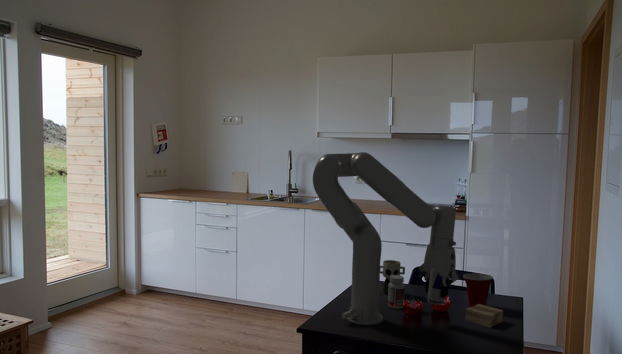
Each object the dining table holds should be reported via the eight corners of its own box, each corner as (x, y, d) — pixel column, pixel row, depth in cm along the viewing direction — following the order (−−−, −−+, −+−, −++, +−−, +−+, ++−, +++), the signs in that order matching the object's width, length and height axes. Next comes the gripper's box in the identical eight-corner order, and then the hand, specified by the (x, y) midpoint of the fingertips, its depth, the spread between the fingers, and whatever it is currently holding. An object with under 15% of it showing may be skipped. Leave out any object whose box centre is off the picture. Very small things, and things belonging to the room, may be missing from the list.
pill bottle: (405, 305, 181) (406, 275, 180) (402, 310, 175) (403, 279, 175) (389, 302, 183) (390, 273, 183) (385, 307, 178) (386, 277, 177)
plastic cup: (471, 300, 190) (472, 270, 189) (496, 307, 181) (498, 276, 181) (456, 305, 182) (457, 274, 182) (482, 312, 174) (483, 280, 174)
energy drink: (443, 306, 160) (447, 271, 159) (427, 303, 161) (431, 268, 160) (442, 301, 165) (446, 267, 164) (426, 299, 166) (430, 265, 165)
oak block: (489, 327, 159) (490, 315, 159) (465, 320, 166) (465, 308, 166) (502, 321, 165) (503, 310, 165) (478, 314, 172) (479, 303, 172)
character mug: (378, 295, 193) (379, 263, 192) (376, 289, 200) (377, 259, 199) (405, 296, 192) (406, 264, 192) (403, 291, 199) (404, 260, 199)
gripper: (470, 246, 158) (464, 300, 159) (426, 236, 170) (421, 286, 171) (457, 248, 153) (452, 303, 154) (413, 237, 165) (408, 289, 166)
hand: (436, 293), depth 163 cm, fingers closed on energy drink, 5 cm apart
